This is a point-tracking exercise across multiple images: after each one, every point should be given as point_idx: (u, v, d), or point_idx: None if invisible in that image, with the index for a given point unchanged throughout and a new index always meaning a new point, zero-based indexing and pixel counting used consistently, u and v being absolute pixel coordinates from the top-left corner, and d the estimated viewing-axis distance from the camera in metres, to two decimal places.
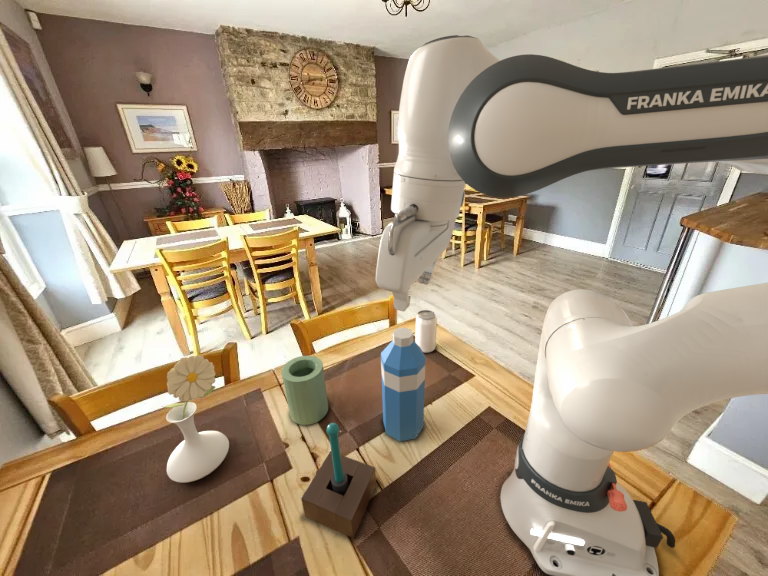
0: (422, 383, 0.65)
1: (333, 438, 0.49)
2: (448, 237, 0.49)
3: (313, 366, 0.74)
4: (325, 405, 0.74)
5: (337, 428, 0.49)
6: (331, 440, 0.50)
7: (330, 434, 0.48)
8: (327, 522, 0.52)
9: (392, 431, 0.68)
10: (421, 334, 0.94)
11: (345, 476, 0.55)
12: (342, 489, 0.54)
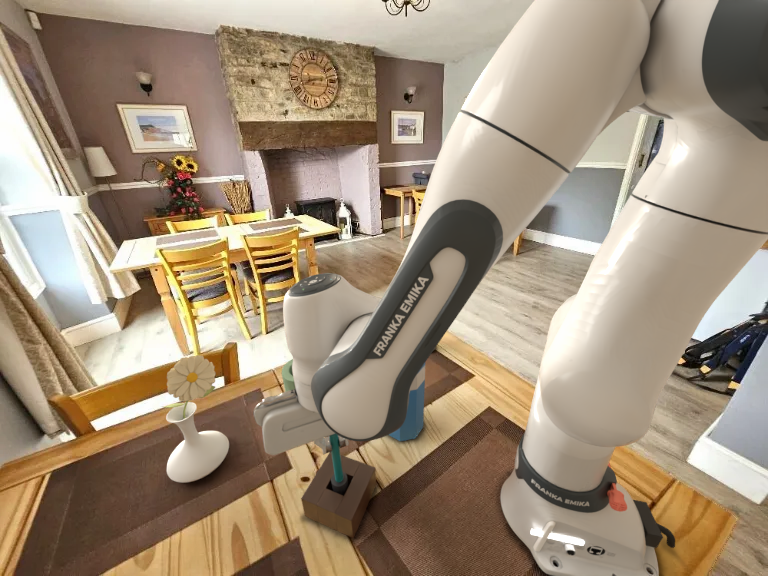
0: (422, 383, 0.65)
1: (333, 438, 0.49)
2: None
3: None
4: None
5: None
6: (331, 440, 0.50)
7: None
8: (327, 522, 0.52)
9: None
10: None
11: (345, 476, 0.55)
12: (342, 489, 0.54)
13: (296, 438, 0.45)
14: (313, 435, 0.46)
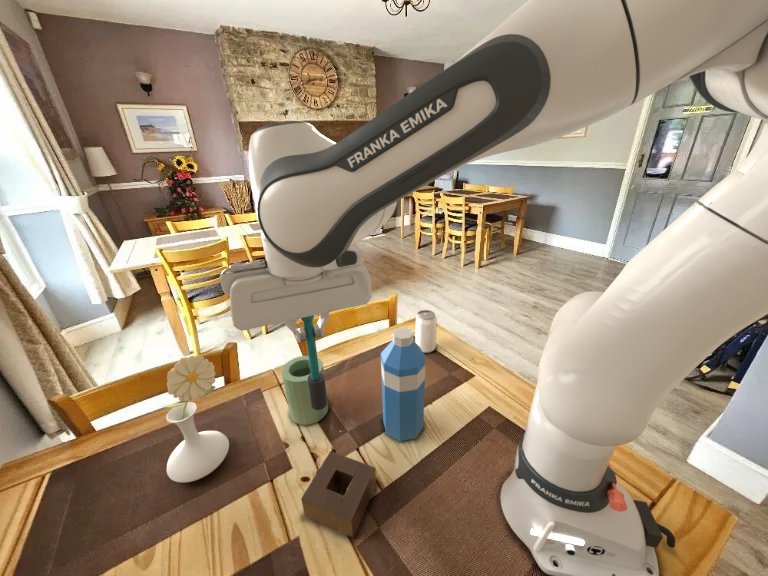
0: (422, 383, 0.65)
1: (307, 325, 0.47)
2: (361, 293, 0.47)
3: None
4: None
5: None
6: (305, 328, 0.47)
7: (304, 319, 0.46)
8: (327, 522, 0.52)
9: (392, 431, 0.68)
10: (421, 334, 0.94)
11: (322, 376, 0.53)
12: (318, 387, 0.52)
13: (266, 313, 0.43)
14: (285, 313, 0.44)
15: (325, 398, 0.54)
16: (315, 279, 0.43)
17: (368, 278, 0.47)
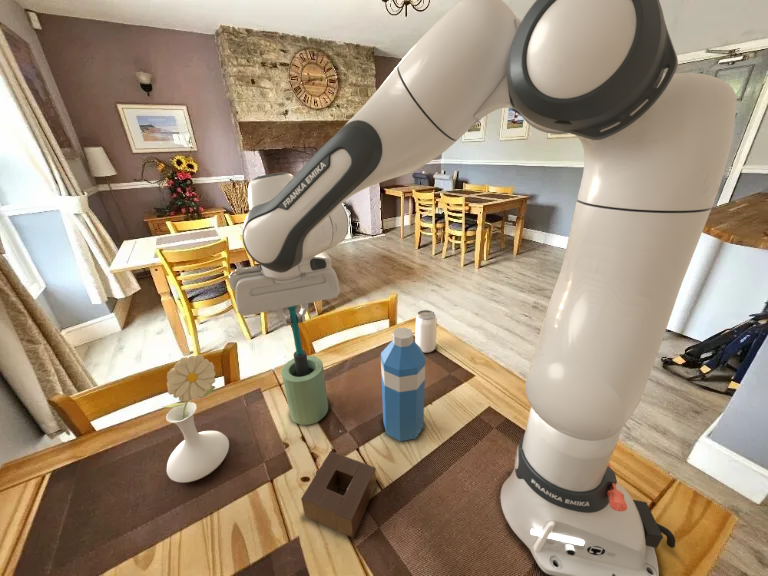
0: (422, 383, 0.65)
1: (292, 313, 0.64)
2: (331, 289, 0.65)
3: (313, 366, 0.74)
4: (325, 405, 0.74)
5: None
6: (291, 315, 0.65)
7: (289, 308, 0.64)
8: (327, 522, 0.52)
9: (392, 431, 0.68)
10: (421, 334, 0.94)
11: (304, 352, 0.70)
12: (301, 360, 0.69)
13: (261, 303, 0.60)
14: (275, 303, 0.61)
15: (307, 369, 0.71)
16: (296, 279, 0.60)
17: (336, 278, 0.64)
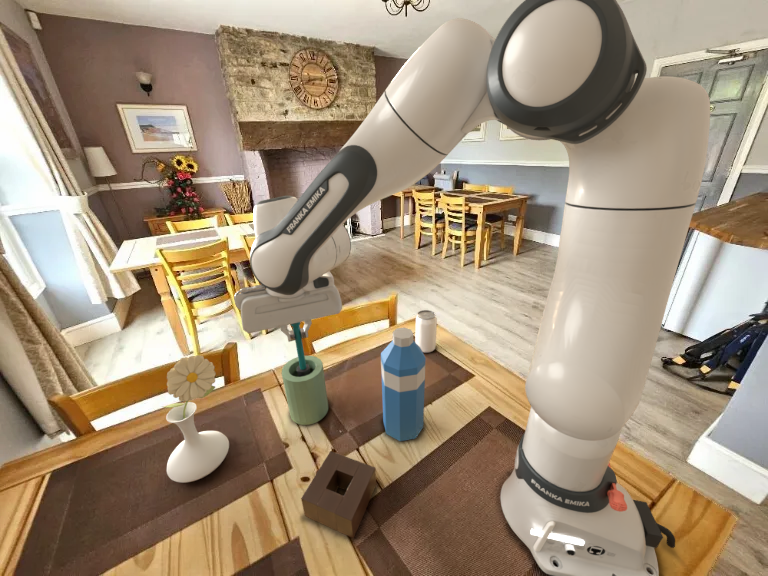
0: (422, 383, 0.65)
1: (295, 329, 0.66)
2: (334, 305, 0.66)
3: (313, 366, 0.74)
4: (325, 405, 0.74)
5: None
6: (294, 331, 0.66)
7: (293, 325, 0.65)
8: (327, 522, 0.52)
9: (392, 431, 0.68)
10: (421, 334, 0.94)
11: (308, 366, 0.71)
12: (305, 374, 0.70)
13: (266, 321, 0.61)
14: (279, 321, 0.62)
15: None
16: (299, 297, 0.61)
17: (338, 295, 0.65)
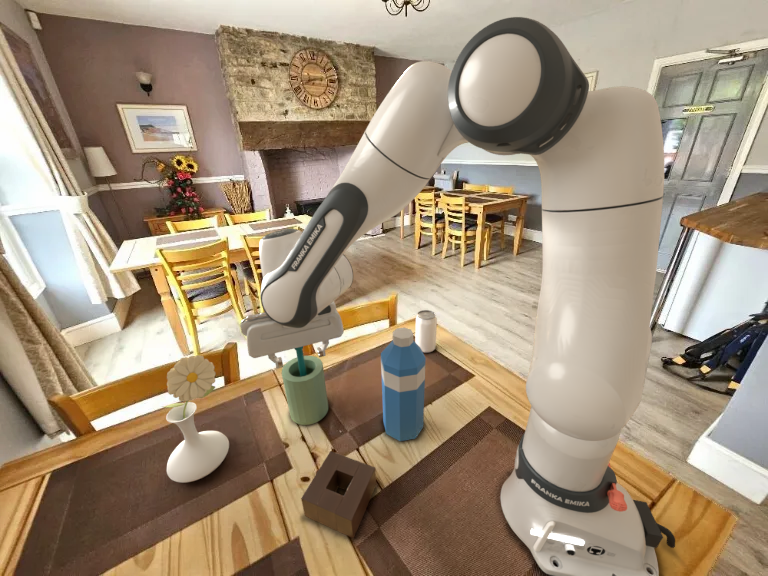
0: (422, 383, 0.65)
1: (299, 352, 0.69)
2: (335, 330, 0.69)
3: (313, 366, 0.74)
4: (325, 405, 0.74)
5: None
6: (297, 354, 0.69)
7: (296, 349, 0.68)
8: (327, 522, 0.52)
9: (392, 431, 0.68)
10: (421, 334, 0.94)
11: None
12: None
13: (270, 346, 0.64)
14: (283, 346, 0.65)
15: None
16: None
17: (340, 320, 0.68)
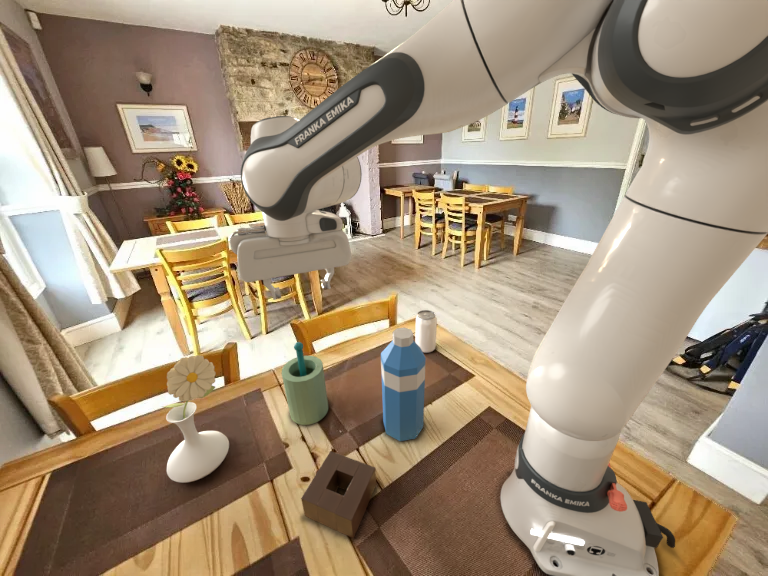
0: (422, 383, 0.65)
1: (299, 352, 0.69)
2: (342, 255, 0.59)
3: (313, 366, 0.74)
4: (325, 405, 0.74)
5: (301, 345, 0.68)
6: (297, 354, 0.69)
7: (296, 349, 0.68)
8: (327, 522, 0.52)
9: (392, 431, 0.68)
10: (421, 334, 0.94)
11: None
12: None
13: (266, 268, 0.54)
14: (280, 269, 0.55)
15: None
16: (304, 241, 0.54)
17: (347, 242, 0.58)
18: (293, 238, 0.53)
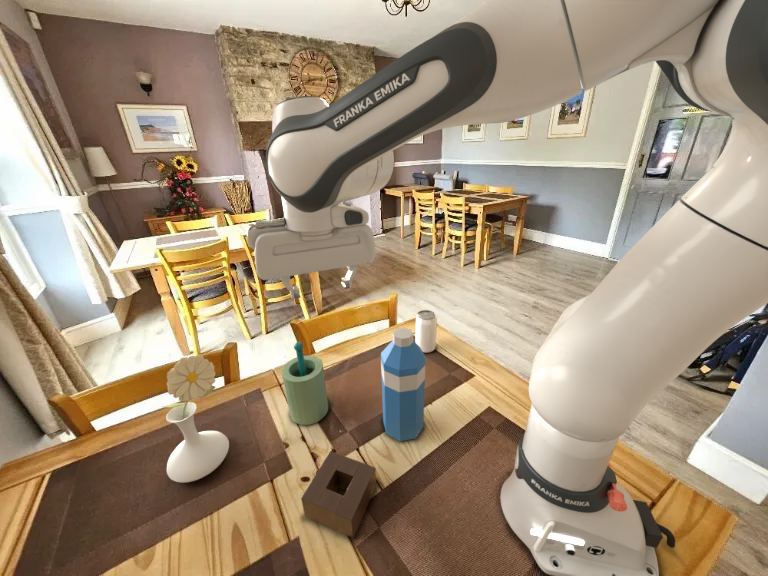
0: (422, 383, 0.65)
1: (299, 352, 0.69)
2: (366, 251, 0.54)
3: (313, 366, 0.74)
4: (325, 405, 0.74)
5: (301, 345, 0.68)
6: (297, 354, 0.69)
7: (296, 349, 0.68)
8: (327, 522, 0.52)
9: (392, 431, 0.68)
10: (421, 334, 0.94)
11: None
12: None
13: (285, 265, 0.50)
14: (301, 266, 0.51)
15: None
16: (327, 236, 0.49)
17: (372, 238, 0.53)
18: (316, 232, 0.48)
